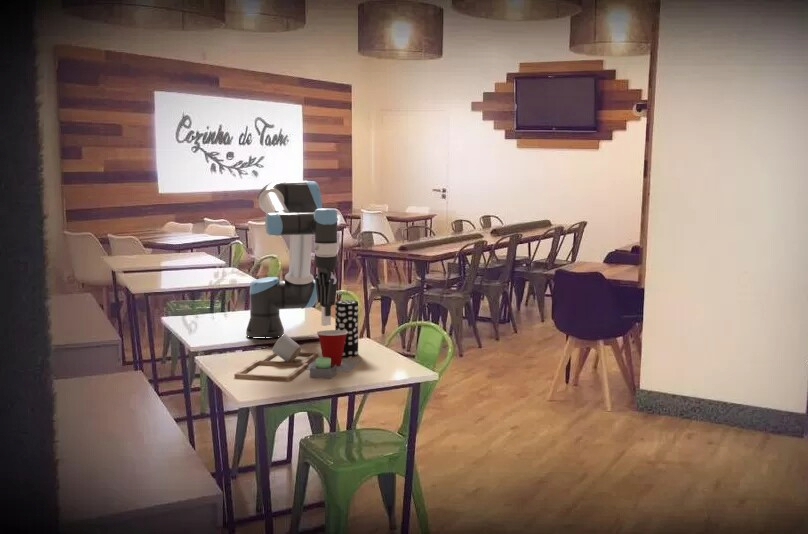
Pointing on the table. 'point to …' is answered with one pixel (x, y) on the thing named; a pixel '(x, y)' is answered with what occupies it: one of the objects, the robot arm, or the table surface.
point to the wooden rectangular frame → (266, 361)
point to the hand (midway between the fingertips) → (326, 324)
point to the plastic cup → (332, 344)
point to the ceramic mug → (286, 348)
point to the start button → (323, 362)
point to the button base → (323, 372)
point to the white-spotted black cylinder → (348, 325)
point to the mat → (344, 367)
